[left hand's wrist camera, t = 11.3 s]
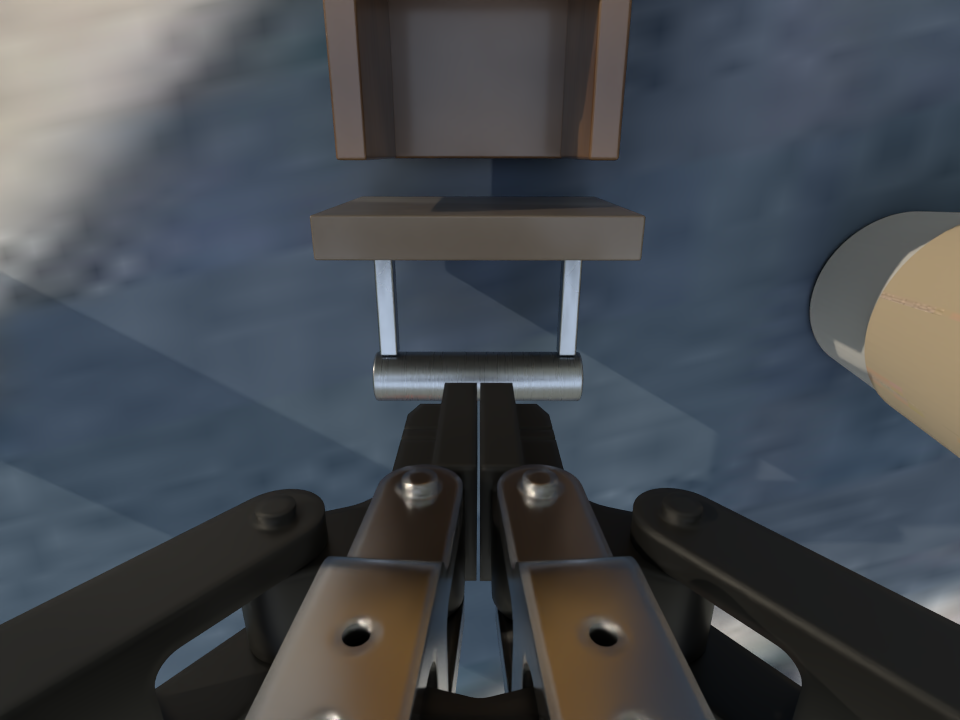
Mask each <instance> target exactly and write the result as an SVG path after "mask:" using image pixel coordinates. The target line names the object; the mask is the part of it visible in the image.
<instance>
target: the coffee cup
mask: <svg viewBox="0 0 960 720" xmlns="http://www.w3.org/2000/svg"><path fill="white" fill-rule="evenodd" d="M810 321H811V327H812V330H813V333H814V336H815V338H816V340H817V342H818V344H819V345H820V347H821V348H822V349H823V350H824V351H825V352H826V353H827V354H828V355H829V356H830V357H831V358H833V359H834V360H835V361H837V362H838V363H839V364H841V365H842V366H844V367H845V368H846V369H848V370H849V371H850V372H852V373H853V374H854V375H856V376H857V377H859V378H860V379H861V380H863V381H864V382H865V383H867V384H868V385H869V386H871V387H872V388H874V389H875V390H876V391H877V393H878V394H879V395H880V397H881V398H882V399H883V400H884V401H885V402H886V403H887V404H889V405H890V406H891V407H892V408H894V409H895V410H896V411H898V412H899V413H900V414H902V415H903V416H904V417H906V418H907V419H908V420H910V421H911V422H912V423H914V424H915V425H916V426H918V427H919V428H920V429H922V430H923V431H924V432H926V433H927V434H928V435H930V436H931V437H932V438H934V439H935V440H936V441H938V442H939V443H940V444H942V445H943V446H944V447H946V448H947V449H948V450H950V451H951V452H952V453H954V454H955V455H956V456H958V457H959V458H960V213H959V212H923V211H914V212H904V213H899V214H895V215H891V216H888V217H885V218H883V219H880V220H878V221H876V222H873V223H871V224H870V225H868V226H866V227H864V228H863V229H861V230H860V231H858V232H857V233H855V234H854V235H853V236H851V237H850V238H849V239H848V240H847V241H845V242H844V243H843V244H842V245H841V246H840V247H839V248H838V249H837V250H836V252H835V253H834V254H833V255H832V256H831V258H830V259H829V260H828V262H827V263H826V265H825V266H824V268H823V270H822V271H821V273H820V275H819V277H818V279H817V282H816V284H815V287H814V290H813V293H812V298H811V304H810Z"/></svg>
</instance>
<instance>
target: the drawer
mask: <svg viewBox="0 0 960 720" xmlns="http://www.w3.org/2000/svg"><path fill="white" fill-rule="evenodd" d="M323 8H324V20H325V31H326V43H327V55H328V66H329V78H330V89H331V101H332V113H333V124H334V136H335V148H336V158H337V159H338V160H374V159H391V158H563V159H579V160H617V159H618V158H619V150H620V138H621V126H622V115H623V103H624V91H625V79H626V68H627V56H628V44H629V32H630V20H631V9H632V0H323ZM310 222H311V232H312V241H313V251H314V259H315V260H374V269H375V284H376V299H377V314H378V329H379V343H380V352H377V353H376V356H375V359H374V365H373V388H374V394H375V398H376V400H378V401H442V396H443V390H444V384H445V383H477V401H480V383H513V389H514V397H515V401H578V400H580V398H581V395H582V389H583V365H582V359H581V355H580V353H579V352H576V345H577V330H578V315H579V300H580V285H581V270H582V260H641V255H642V245H643V236H644V226H645V216H643V215H641V214H638V213H636V212H633V211H630V210H628V209H625V208H622V207H620V206H617V205H615V204H612V203H609V202H607V201H604V200H601V199H599V198H596V197H360V198H357V199H354V200H352V201H349V202H346V203H344V204H341V205H338V206H335V207H333V208H330V209H327V210H325V211H322V212H319V213H316V214H314V215H311V216H310ZM395 260H561V277H560V295H559V314H558V333H557V352H399V349H400V347H399V329H398V310H397V292H396V273H395Z"/></svg>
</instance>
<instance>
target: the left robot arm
mask: <svg viewBox="0 0 960 720" xmlns="http://www.w3.org/2000/svg"><path fill="white" fill-rule="evenodd" d="M476 560H477V383H445V384H444V390H443V396H442V403H441V404H420V405H419V406H418V407H416V408H415V409H414V410H413V411H412V412H410V413H409V414H408V416H407V420H406V424H405V429H404V431H403V435H402V440H401V442H400V445H399V449H398V453H397V456H396V460H395V463H394V467H393V471H392V472H391V473H389V474H388V475H386V476H385V477H384V478H383V479H382V480H381V481H380V483H379V485H378V487H377V489H376V491H375V494H374V496H373V498H371V499H369V500H367V501H365V502H362V503H360V504H357V505H353V506H349V507H345V508H340V509H335V510H330V511H325V506H324V503H323V501H322V500H321V498H320V497H319V496H317V495H316V494H314V493H312V492H309V491H305V490H299V489H284V490H277V491H272V492H268V493H265V494H262V495H259V496H257V497H254V498H252V499H250V500H248V501H246V502H244V503H242V504H240V505H238V506H236V507H234V508H232V509H230V510H228V511H226V512H224V513H222V514H220V515H218V516H216V517H214V518H212V519H210V520H208V521H206V522H204V523H202V524H200V525H198V526H196V527H194V528H192V529H190V530H188V531H186V532H184V533H182V534H180V535H178V536H176V537H174V538H172V539H170V540H168V541H166V542H164V543H162V544H160V545H158V546H156V547H154V548H152V549H150V550H148V551H146V552H144V553H142V554H140V555H138V556H136V557H134V558H132V559H130V560H128V561H126V562H124V563H122V564H121V565H119V566H117V567H115V568H113V569H111V570H109V571H107V572H105V573H103V574H101V575H99V576H97V577H95V578H93V579H91V580H89V581H87V582H85V583H83V584H81V585H79V586H77V587H75V588H73V589H71V590H69V591H67V592H65V593H63V594H61V595H59V596H57V597H55V598H53V599H51V600H49V601H47V602H45V603H43V604H41V605H39V606H37V607H35V608H33V609H31V610H29V611H27V612H25V613H23V614H21V615H19V616H17V617H15V618H13V619H11V620H9V621H7V622H5V623H3V624H1V625H0V720H960V625H959V624H957V623H955V622H953V621H951V620H949V619H947V618H945V617H943V616H941V615H939V614H937V613H935V612H933V611H931V610H929V609H927V608H925V607H923V606H921V605H919V604H917V603H915V602H913V601H911V600H909V599H907V598H905V597H903V596H901V595H899V594H897V593H895V592H893V591H891V590H889V589H887V588H885V587H883V586H881V585H879V584H877V583H875V582H873V581H871V580H869V579H867V578H865V577H863V576H861V575H859V574H857V573H855V572H853V571H851V570H849V569H847V568H845V567H843V566H841V565H839V564H837V563H835V562H834V561H832V560H830V559H828V558H826V557H824V556H822V555H820V554H818V553H816V552H814V551H812V550H810V549H808V548H806V547H804V546H802V545H800V544H798V543H796V542H794V541H792V540H790V539H788V538H786V537H784V536H782V535H780V534H778V533H776V532H774V531H772V530H770V529H768V528H766V527H764V526H762V525H760V524H758V523H756V522H754V521H752V520H750V519H748V518H746V517H744V516H742V515H740V514H738V513H736V512H734V511H732V510H730V509H728V508H726V507H724V506H722V505H720V504H718V503H716V502H714V501H712V500H710V499H708V498H706V497H704V496H701V495H699V494H696V493H693V492H690V491H686V490H682V489H675V488H658V489H652V490H649V491H646V492H644V493H642V494H641V495H639V496H638V497H637V498H636V500H635V502H634V505H633V512H630V511H625V510H620V509H615V508H610V507H606V506H602V505H599V504H596V503H593V502H591V501H589V500H588V498H587V496H586V494H585V491H584V489H583V487H582V485H581V483H580V481H579V480H578V479H577V478H576V477H575V476H574V475H572V474H571V473H569V472H567V471H565V470H564V469H563V466H562V462H561V458H560V454H559V450H558V447H557V443H556V440H555V435H554V432H553V430H552V424H551V420H550V417H549V414H548V413H546V412H545V411H544V410H543V409H542V408H541V407H539V406H538V405H537V404H515V397H514V389H513V383H480V581H492V598H493V601H494V603H495V605H496V627H497V635H498V643H499V651H500V658H501V666H502V674H503V682H504V690H505V693H504V694H500V695H496V696H492V697H487V698H473V697H468V696H464V695H460V694H456V693H455V690H456V682H457V674H458V666H459V658H460V651H461V643H462V635H463V627H464V585H465V581H476ZM714 605H716V606H717V607H719V608H720V609H722V610H723V611H725V612H726V613H728V614H730V615H731V616H733V617H734V618H736V619H737V620H739V621H740V622H742V623H743V624H745V625H746V626H748V627H750V628H751V629H753V630H754V631H756V632H757V633H759V634H760V635H762V636H763V637H765V638H766V639H768V640H770V641H771V642H773V643H774V644H776V645H777V646H778V647H780V648H781V649H782V650H783V651H785V652H786V653H787V654H788V655H789V657H790V658H791V659H792V660H793V662H794V663H795V665H796V666H797V668H798V670H799V672H800V675H801V679H802V687H801V686H800V685H798V684H797V683H795V682H794V681H792V680H791V679H789V678H788V677H786V676H785V675H783V674H782V673H781V672H779V671H778V670H776V669H775V668H773V667H772V666H770V665H769V664H767V663H766V662H764V661H763V660H762V659H760V658H759V657H757V656H756V655H754V654H753V653H751V652H750V651H748V650H747V649H745V648H744V647H743V646H741V645H740V644H738V643H737V642H735V641H734V640H732V639H731V638H729V637H728V636H726V635H725V634H723V633H722V632H721V631H719V630H718V629H716V628H715V627H713V626H712V625H711V620H712V615H713V609H714ZM241 607H242V611H243V616H244V621H245V626H246V627H245V628H244V629H242V630H241V631H239V632H238V633H236V634H235V635H234V636H232V637H231V638H229V639H228V640H226V641H225V642H223V643H222V644H220V645H219V646H217V647H216V648H215V649H213V650H212V651H210V652H209V653H207V654H206V655H204V656H203V657H201V658H200V659H198V660H197V661H196V662H194V663H193V664H191V665H190V666H188V667H187V668H185V669H184V670H182V671H181V672H179V673H178V674H176V675H175V676H174V677H172V678H171V679H169V680H168V681H166V682H165V683H163V684H162V685H160V686H159V687H157V688H156V689H155V680H156V676H157V674H158V671H159V670H160V668H161V666H162V665H163V663H164V662H165V661H166V659H167V658H168V657H169V656H170V655H171V654H172V653H173V652H175V651H176V650H177V649H178V648H180V647H181V646H183V645H184V644H186V643H187V642H189V641H190V640H192V639H194V638H195V637H197V636H198V635H200V634H201V633H203V632H204V631H206V630H207V629H209V628H210V627H212V626H214V625H215V624H217V623H218V622H220V621H221V620H223V619H224V618H226V617H227V616H229V615H230V614H232V613H233V612H235V611H237V610H238V609H240V608H241Z"/></svg>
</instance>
